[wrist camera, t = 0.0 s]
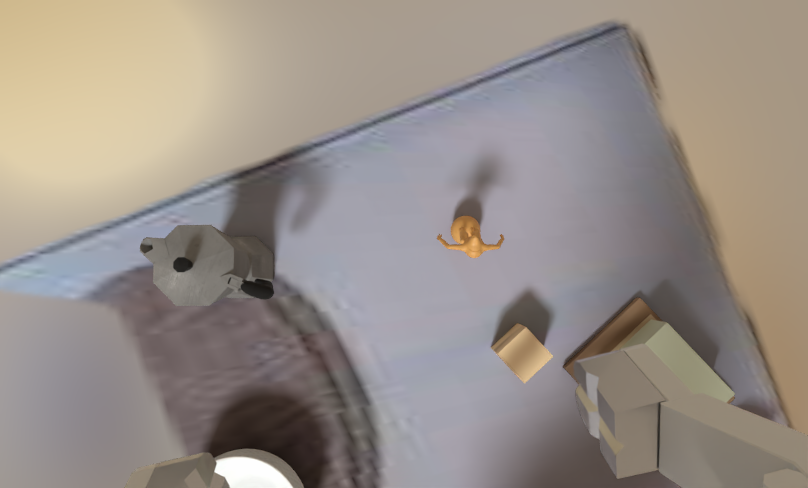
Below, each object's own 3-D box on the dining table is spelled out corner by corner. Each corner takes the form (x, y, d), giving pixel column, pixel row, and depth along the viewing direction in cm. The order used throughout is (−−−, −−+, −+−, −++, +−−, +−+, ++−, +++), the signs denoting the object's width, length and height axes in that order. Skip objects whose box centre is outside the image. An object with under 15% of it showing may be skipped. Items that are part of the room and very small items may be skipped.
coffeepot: (187, 280, 65) (102, 283, 47) (213, 218, 66) (139, 198, 48) (288, 322, 64) (241, 340, 47) (314, 259, 65) (276, 253, 47)
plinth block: (714, 386, 62) (735, 394, 58) (649, 448, 61) (666, 460, 57) (650, 319, 63) (667, 322, 59) (586, 380, 62) (598, 387, 58)
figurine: (493, 217, 65) (511, 204, 53) (493, 260, 65) (512, 257, 53) (434, 217, 65) (439, 204, 53) (434, 260, 65) (439, 257, 53)
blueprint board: (730, 395, 63) (735, 398, 62) (655, 467, 62) (660, 470, 61) (636, 297, 64) (640, 297, 63) (562, 366, 63) (565, 368, 62)
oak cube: (542, 349, 64) (553, 356, 59) (515, 374, 64) (524, 383, 59) (517, 322, 64) (526, 327, 59) (490, 347, 64) (497, 353, 59)
